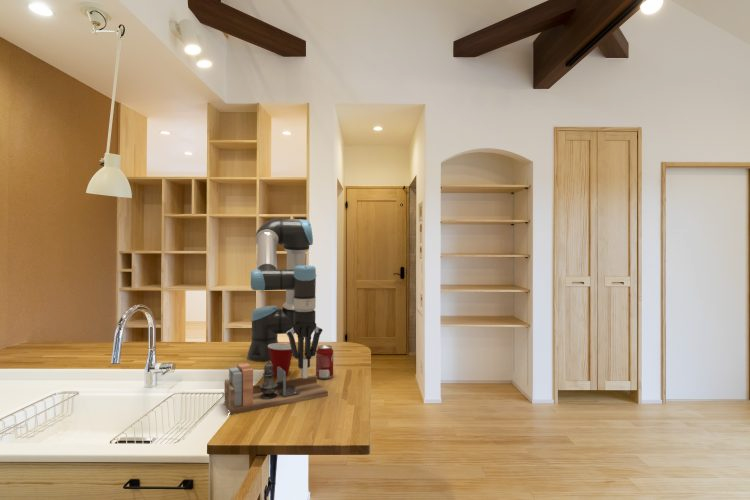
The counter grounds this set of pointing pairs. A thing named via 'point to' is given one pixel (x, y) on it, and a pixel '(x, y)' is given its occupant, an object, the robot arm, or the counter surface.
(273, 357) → the plastic cup
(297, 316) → the robot arm
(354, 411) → the counter surface
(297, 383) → the wooden book rack
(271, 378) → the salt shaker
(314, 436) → the counter surface
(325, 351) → the soda can
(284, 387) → the bookend
